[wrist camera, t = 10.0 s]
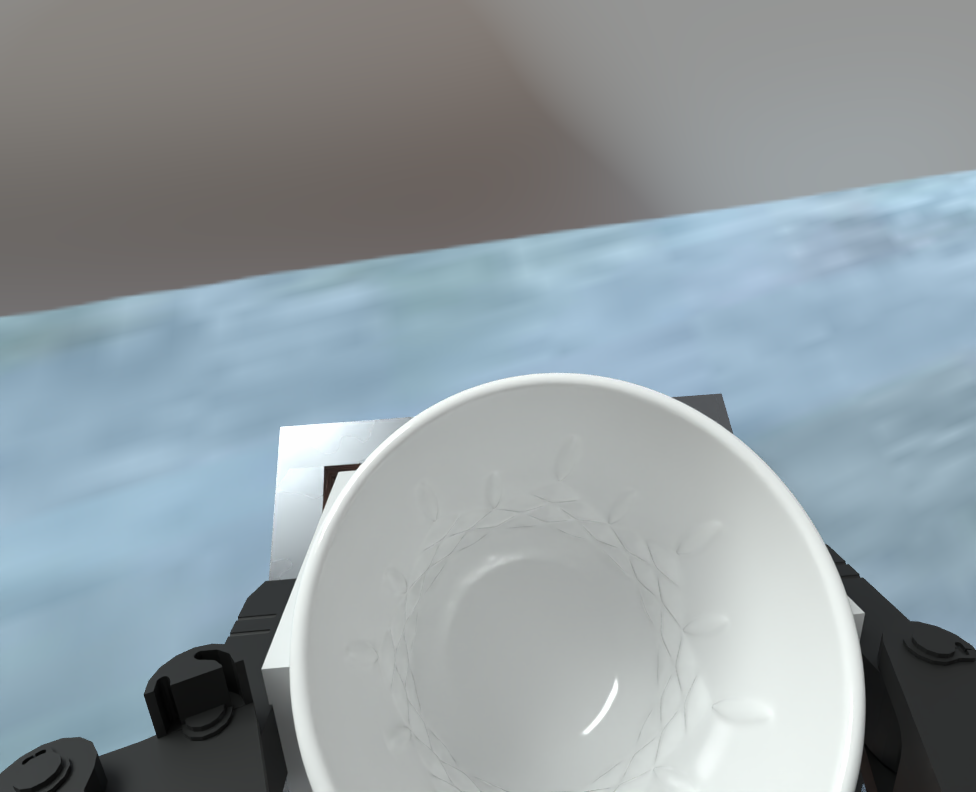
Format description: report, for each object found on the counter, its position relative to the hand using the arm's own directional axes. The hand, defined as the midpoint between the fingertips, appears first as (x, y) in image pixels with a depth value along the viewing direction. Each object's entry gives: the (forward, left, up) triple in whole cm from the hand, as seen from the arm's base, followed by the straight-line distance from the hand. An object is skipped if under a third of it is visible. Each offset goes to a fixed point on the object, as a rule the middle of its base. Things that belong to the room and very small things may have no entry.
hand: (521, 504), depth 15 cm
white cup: (0, -3, -4) cm, 5 cm away
